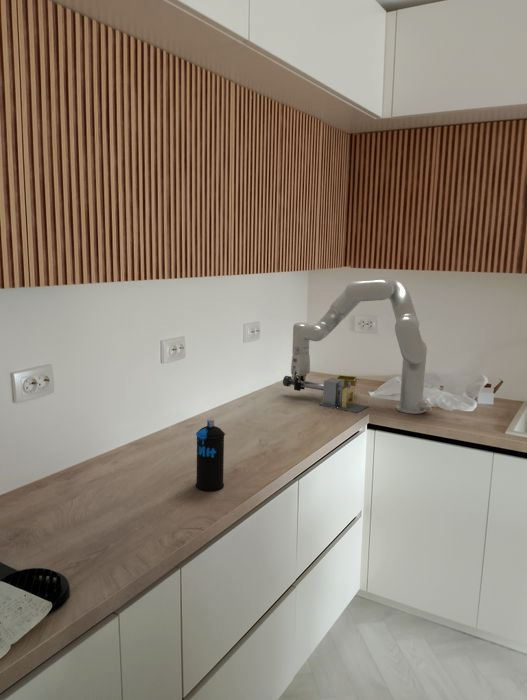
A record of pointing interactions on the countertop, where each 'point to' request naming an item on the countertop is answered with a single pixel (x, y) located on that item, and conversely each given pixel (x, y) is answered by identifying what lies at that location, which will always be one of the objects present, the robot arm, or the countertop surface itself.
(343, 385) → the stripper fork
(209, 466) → the aerosol can
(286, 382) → the shaft
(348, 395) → the gold bearing plate
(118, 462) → the countertop surface
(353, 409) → the mat
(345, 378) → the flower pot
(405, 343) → the robot arm
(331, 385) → the block
